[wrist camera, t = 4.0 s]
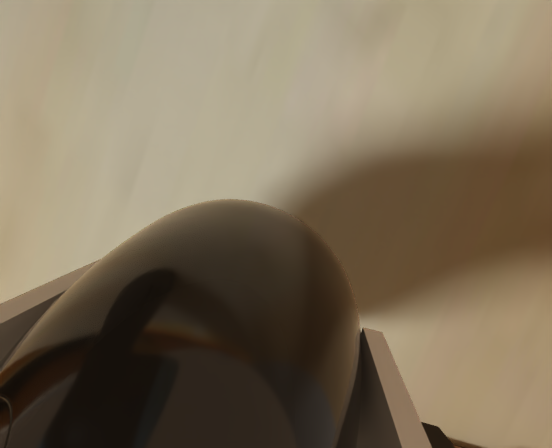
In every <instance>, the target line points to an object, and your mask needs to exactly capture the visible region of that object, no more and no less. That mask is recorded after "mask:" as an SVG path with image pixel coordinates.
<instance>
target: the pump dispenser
mask: <svg viewBox="0 0 552 448" xmlns="http://www.w3.org/2000/svg"><path fill="white" fill-rule="evenodd" d="M361 390H362V353H361V331H360V321H359V314H358V309H357V304H356V300H355V296H354V293H353V290H352V287H351V284H350V281H349V279H348V276H347V274H346V272H345V270H344V268H343V266H342V264H341V262H340V261H339V259H338V258H337V256H336V255H335V253H334V252H333V250H332V249H331V248H330V247H329V245H328V244H327V243H326V242H325V241H324V240H323V239H322V238H321V237H320V236H319V235H318V234H317V233H316V232H315V231H314V230H313V229H311V228H310V227H309V226H307V225H306V224H305V223H303V222H302V221H300V220H299V219H297V218H296V217H294V216H292V215H290V214H288V213H286V212H284V211H282V210H280V209H277V208H275V207H272V206H269V205H266V204H262V203H258V202H253V201H247V200H238V199H222V200H212V201H206V202H202V203H198V204H194V205H191V206H188V207H185V208H182V209H179V210H177V211H174V212H172V213H170V214H168V215H166V216H164V217H162V218H160V219H158V220H157V221H155V222H153V223H152V224H150V225H148V226H147V227H145V228H144V229H142V230H141V231H139V232H138V233H136V234H135V235H133V236H132V237H130V238H129V239H127V240H126V241H124V242H123V243H122V244H120V245H119V246H118V247H116V248H115V249H114V250H112V251H111V252H110V253H108V254H107V255H106V256H104V257H103V258H102V259H101V260H99V261H98V262H97V263H96V264H95V265H93V266H92V267H91V268H90V269H89V270H88V271H86V272H85V273H84V274H83V275H82V276H81V277H80V278H79V279H77V280H76V281H75V282H74V283H73V284H72V285H71V286H70V287H69V288H68V289H67V290H66V291H65V292H64V293H63V294H62V295H61V296H60V297H59V298H58V299H57V300H56V301H55V302H54V303H53V304H52V305H51V306H50V307H49V308H48V309H47V310H46V311H45V312H44V313H43V314H42V315H41V316H40V317H39V318H38V319H37V320H36V322H35V323H34V324H33V325H32V326H31V327H30V328H29V329H28V330H27V331H26V332H25V334H24V335H23V336H22V337H21V338H20V339H19V340H18V341H17V343H16V344H15V345H14V346H13V347H12V348H11V350H10V351H9V352H8V353H7V354H6V355H5V357H4V358H3V359H2V360H1V361H0V448H356V447H357V439H358V430H359V420H360V408H361Z"/></svg>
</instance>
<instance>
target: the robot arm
mask: <svg viewBox="0 0 552 448" xmlns="http://www.w3.org/2000/svg"><path fill="white" fill-rule="evenodd" d="M100 260H101V259H100ZM98 261H99V260H97V261H95V262H93V263H91V264H89V265H86V266H84V267H82V268H80V269H77V270H75V271H73V272H71V273H68V274H66V275H64V276H62V277H60V278H57V279H55V280H53V281H51V282H48V283H46V284H44V285H42V286H40V287H37V288H35V289H33V290H31V291H28V292H26V293H24V294H22V295H19V296H17V297H15V298H13V299H11V300H8V301H6V302H4V303H2V304H0V361H1V360H2V359H3V358H4V357H5V355H6V354H7V353H8V352H9V351H10V350H11V348H12V347H13V346H14V345H15V344H16V343H17V341H18V340H19V339H20V338H21V337H22V336H23V335H24V334H25V332H26V331H27V330H28V329H29V328H30V327H31V326H32V325H33V324H34V323H35V322H36V320H37V319H38V318H39V317H40V316H41V315H42V314H43V313H44V312H45V311H46V310H47V309H48V308H49V307H50V306H51V305H52V304H53V303H54V302H55V301H56V300H57V299H58V298H59V297H60V296H61V295H62V294H63V293H64V292H65V291H66V290H67V289H68V288H69V287H70V286H71V285H72V284H73V283H74V282H75V281H76V280H77V279H79V278H80V277H81V276H82V275H83V274H84V273H85V272H86V271H88V270H89V269H90V268H91V267H92V266H93V265H95V264H96V263H97V262H98ZM361 353H362V390H361V408H360V420H359V430H358V439H357V447H356V448H455V447H454V445H453V444H452V442H451V441H450V440H449V439H448V438H447V437H446V435H445V434H444V433H443V432H442V431H441V430H440V428H439V427H437V426H434V425H430V424H426V423H423V422H421V421H420V419H419V416H418V414H417V412H416V409H415V407H414V405H413V402H412V400H411V398H410V395H409V393H408V391H407V389H406V386H405V384H404V382H403V379H402V377H401V375H400V372H399V370H398V368H397V365H396V363H395V361H394V358H393V356H392V354H391V351H390V349H389V347H388V344H387V342H386V340H385V337H384V335H383V333H382V332H379V331H375V330H371V329H368V328H364V327H363V329H362V332H361Z"/></svg>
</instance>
